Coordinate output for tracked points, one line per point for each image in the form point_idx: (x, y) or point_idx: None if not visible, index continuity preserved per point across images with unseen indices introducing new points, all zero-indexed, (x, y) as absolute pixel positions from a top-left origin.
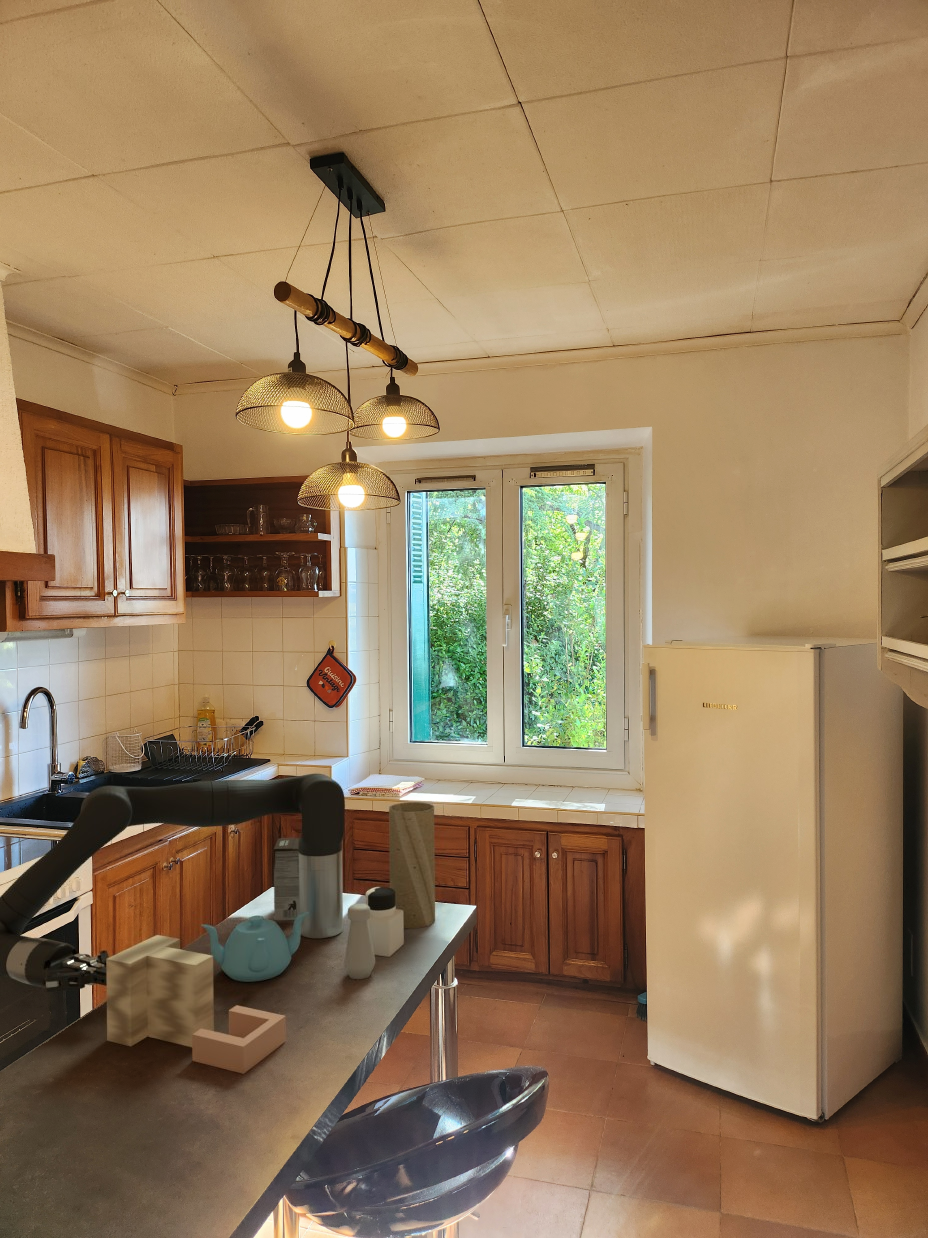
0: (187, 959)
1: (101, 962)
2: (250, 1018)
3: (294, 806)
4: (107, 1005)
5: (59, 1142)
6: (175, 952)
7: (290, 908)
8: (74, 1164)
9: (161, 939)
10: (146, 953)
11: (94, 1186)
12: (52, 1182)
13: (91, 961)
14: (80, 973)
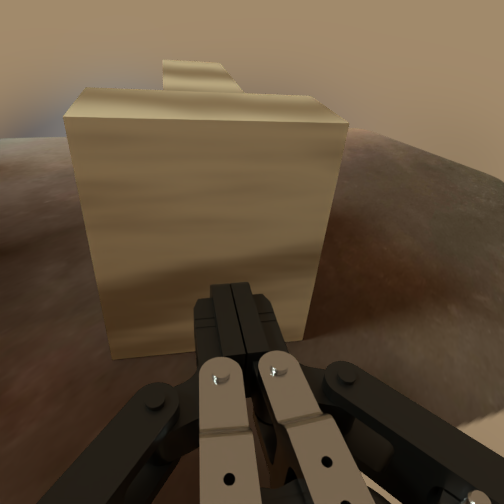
0: (205, 67)
1: (124, 497)
2: None
3: None
4: (317, 263)
5: (456, 212)
6: (185, 77)
7: None
8: (445, 190)
9: (109, 101)
10: (234, 95)
11: (433, 171)
12: (469, 188)
13: (235, 432)
14: (351, 373)
